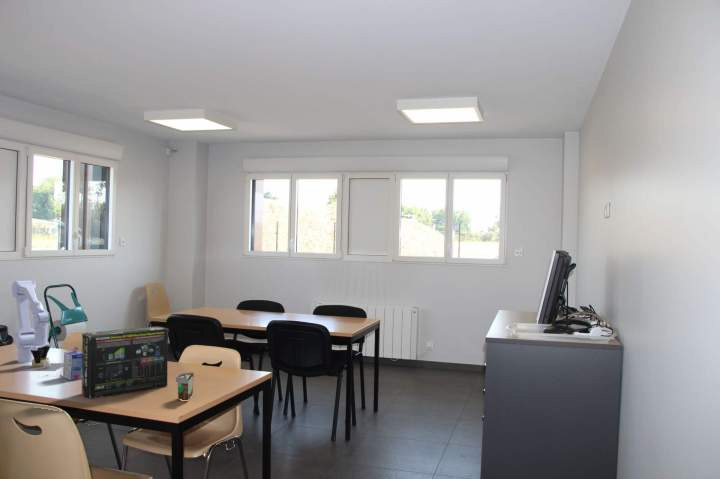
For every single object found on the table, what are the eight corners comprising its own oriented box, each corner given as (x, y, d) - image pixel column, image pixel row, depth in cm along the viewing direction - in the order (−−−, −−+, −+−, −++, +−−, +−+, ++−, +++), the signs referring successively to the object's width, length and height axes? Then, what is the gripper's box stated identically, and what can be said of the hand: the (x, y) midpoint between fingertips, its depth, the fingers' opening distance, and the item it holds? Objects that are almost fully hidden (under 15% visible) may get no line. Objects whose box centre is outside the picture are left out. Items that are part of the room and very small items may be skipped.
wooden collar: (36, 364, 298) (36, 357, 298) (48, 364, 299) (48, 357, 299) (31, 366, 292) (31, 360, 292) (43, 366, 293) (43, 360, 293)
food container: (179, 394, 251) (179, 371, 251) (193, 394, 251) (193, 372, 252) (172, 402, 239) (172, 378, 239) (187, 402, 239) (187, 378, 239)
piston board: (37, 365, 301) (37, 355, 301) (69, 365, 303) (69, 355, 303) (20, 373, 283) (21, 362, 283) (54, 373, 285) (55, 362, 285)
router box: (158, 381, 273) (159, 325, 273) (168, 386, 265) (170, 328, 265) (78, 394, 249) (80, 332, 249) (87, 399, 241) (88, 335, 241)
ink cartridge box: (82, 379, 275) (83, 348, 275) (70, 380, 271) (71, 350, 271) (74, 375, 282) (75, 345, 282) (62, 377, 278) (63, 347, 278)
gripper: (43, 337, 289) (42, 364, 289) (55, 333, 303) (54, 359, 303) (28, 337, 288) (27, 365, 288) (40, 333, 302) (40, 359, 302)
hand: (40, 362), depth 296 cm, fingers closed on wooden collar, 6 cm apart
